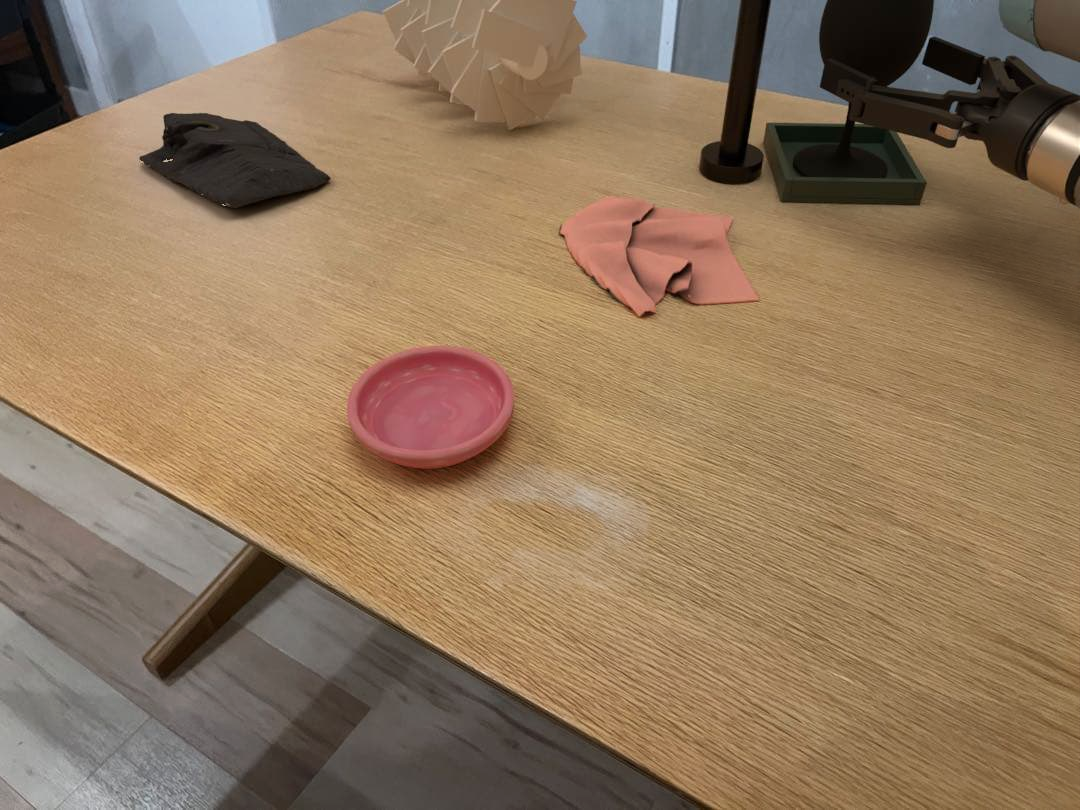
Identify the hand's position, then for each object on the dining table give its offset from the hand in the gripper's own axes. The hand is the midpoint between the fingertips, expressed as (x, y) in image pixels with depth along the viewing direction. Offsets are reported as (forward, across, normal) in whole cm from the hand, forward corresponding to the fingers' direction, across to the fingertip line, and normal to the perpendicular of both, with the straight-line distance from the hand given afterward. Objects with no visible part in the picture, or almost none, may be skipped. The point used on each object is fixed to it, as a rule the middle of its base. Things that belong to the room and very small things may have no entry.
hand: (877, 61), depth 84 cm
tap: (+7, -9, -13) cm, 17 cm away
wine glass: (+2, 0, -12) cm, 13 cm away
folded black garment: (+33, -62, -13) cm, 71 cm away
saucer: (-17, -56, -13) cm, 60 cm away
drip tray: (+2, 0, -13) cm, 13 cm away
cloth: (-4, -28, -13) cm, 31 cm away
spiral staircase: (+38, -28, -13) cm, 49 cm away
